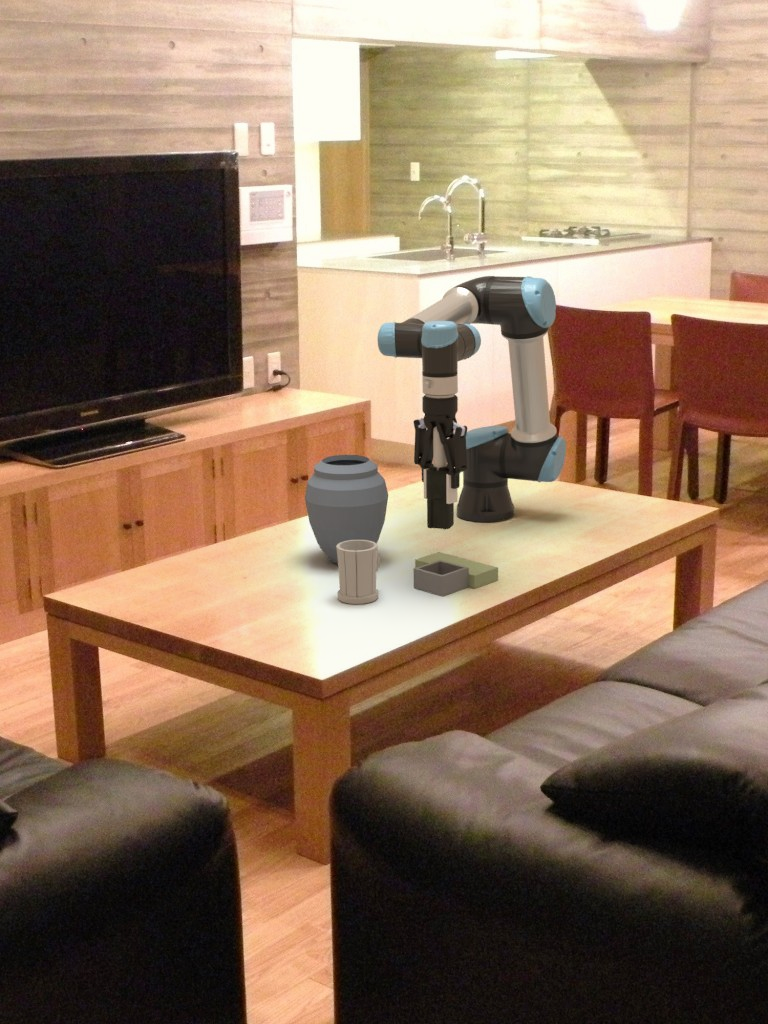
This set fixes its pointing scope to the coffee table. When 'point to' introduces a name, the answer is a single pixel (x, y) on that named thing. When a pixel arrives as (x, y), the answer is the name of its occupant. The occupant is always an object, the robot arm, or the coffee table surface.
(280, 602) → the coffee table surface
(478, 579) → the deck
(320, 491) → the vase
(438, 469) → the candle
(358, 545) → the cup
